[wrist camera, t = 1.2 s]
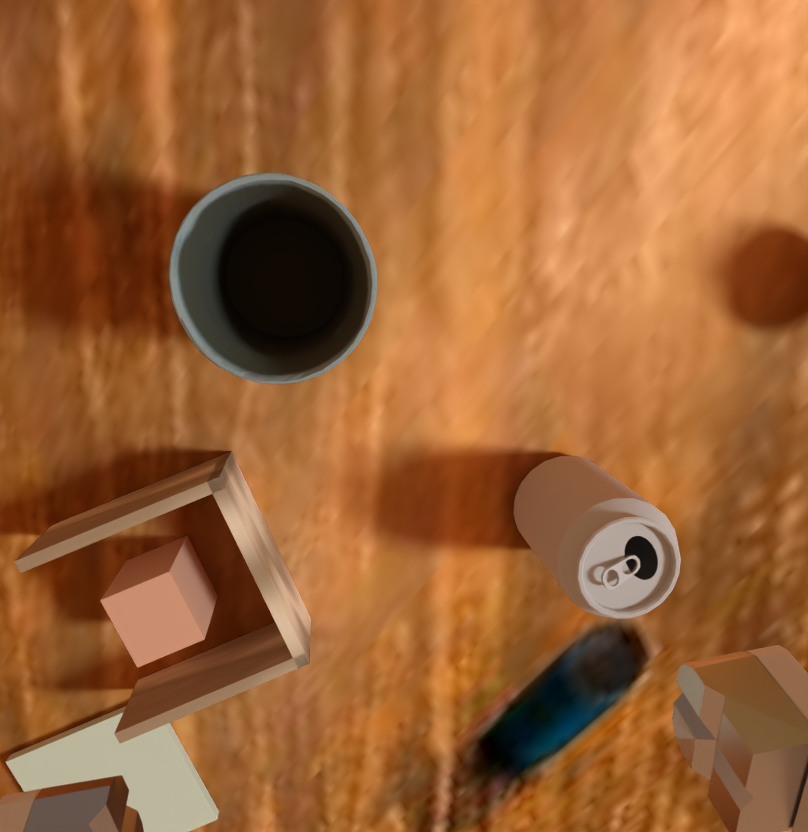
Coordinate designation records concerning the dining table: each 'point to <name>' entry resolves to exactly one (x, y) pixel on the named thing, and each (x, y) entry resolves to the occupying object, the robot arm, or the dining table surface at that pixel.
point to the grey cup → (272, 278)
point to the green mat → (123, 771)
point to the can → (597, 537)
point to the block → (161, 601)
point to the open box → (226, 663)
